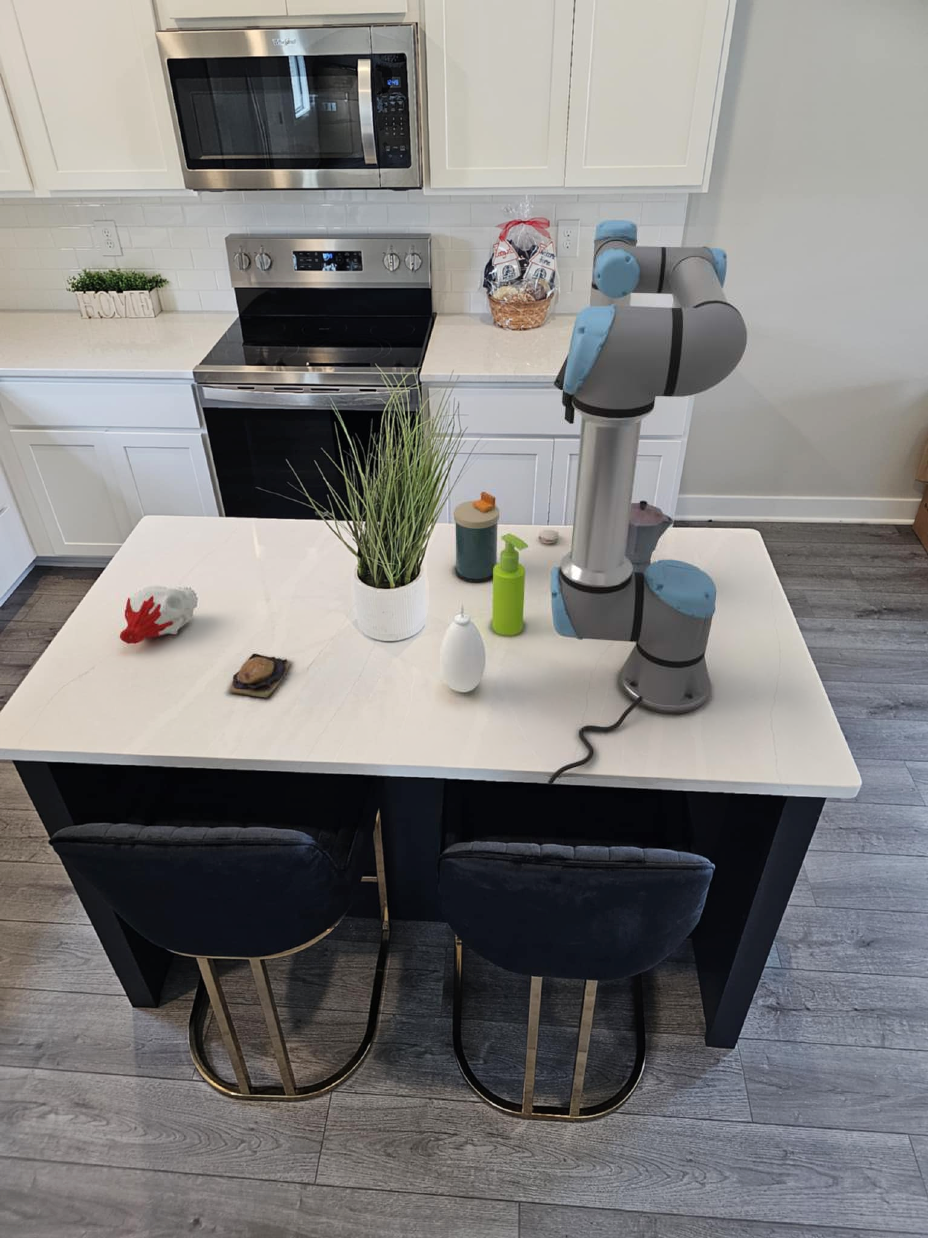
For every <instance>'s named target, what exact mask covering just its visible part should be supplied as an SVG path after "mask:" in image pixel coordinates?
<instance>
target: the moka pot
mask: <svg viewBox="0 0 928 1238" xmlns="http://www.w3.org/2000/svg"><path fill="white" fill-rule="evenodd" d="M673 524H675V521H674V519H673V517H670V516H669V515H667V514H665V513H663V511H662V510H661V508H660V507H658V506H654V505H651V504H648V501H647V500H640V501H639V502H631V509H630V517H629V525H628V533H627V542H626V550H625V556H626V557H627V558H628V559H629V560H630V562H631V563H632V566H633V572H643V573H645V570H646V569H647V567H648V566H649V565H650V564H651V563H652V556H653V552H655V550H656V549H657V546H658V544H659V540H660V538H661V537H662V536H663V535H664V534H665V532H666V531H667V530H668V528H670V526H671V525H673Z"/></svg>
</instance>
